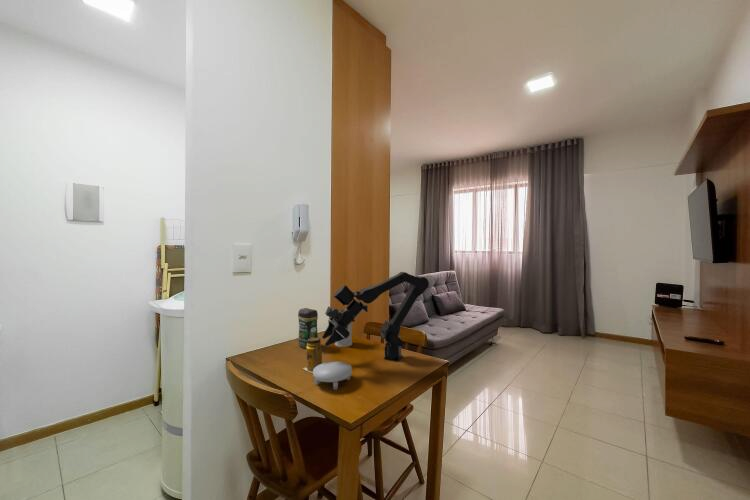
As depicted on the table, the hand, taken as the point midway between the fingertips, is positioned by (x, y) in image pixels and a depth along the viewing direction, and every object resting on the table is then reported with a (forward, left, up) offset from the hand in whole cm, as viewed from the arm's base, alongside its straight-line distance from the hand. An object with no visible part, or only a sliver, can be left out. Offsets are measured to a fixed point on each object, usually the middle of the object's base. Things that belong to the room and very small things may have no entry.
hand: (324, 341), depth 121 cm
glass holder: (+10, -29, -11) cm, 32 cm away
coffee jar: (+22, -17, -11) cm, 30 cm away
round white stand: (-11, +9, -10) cm, 18 cm away
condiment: (+2, +2, -11) cm, 11 cm away
